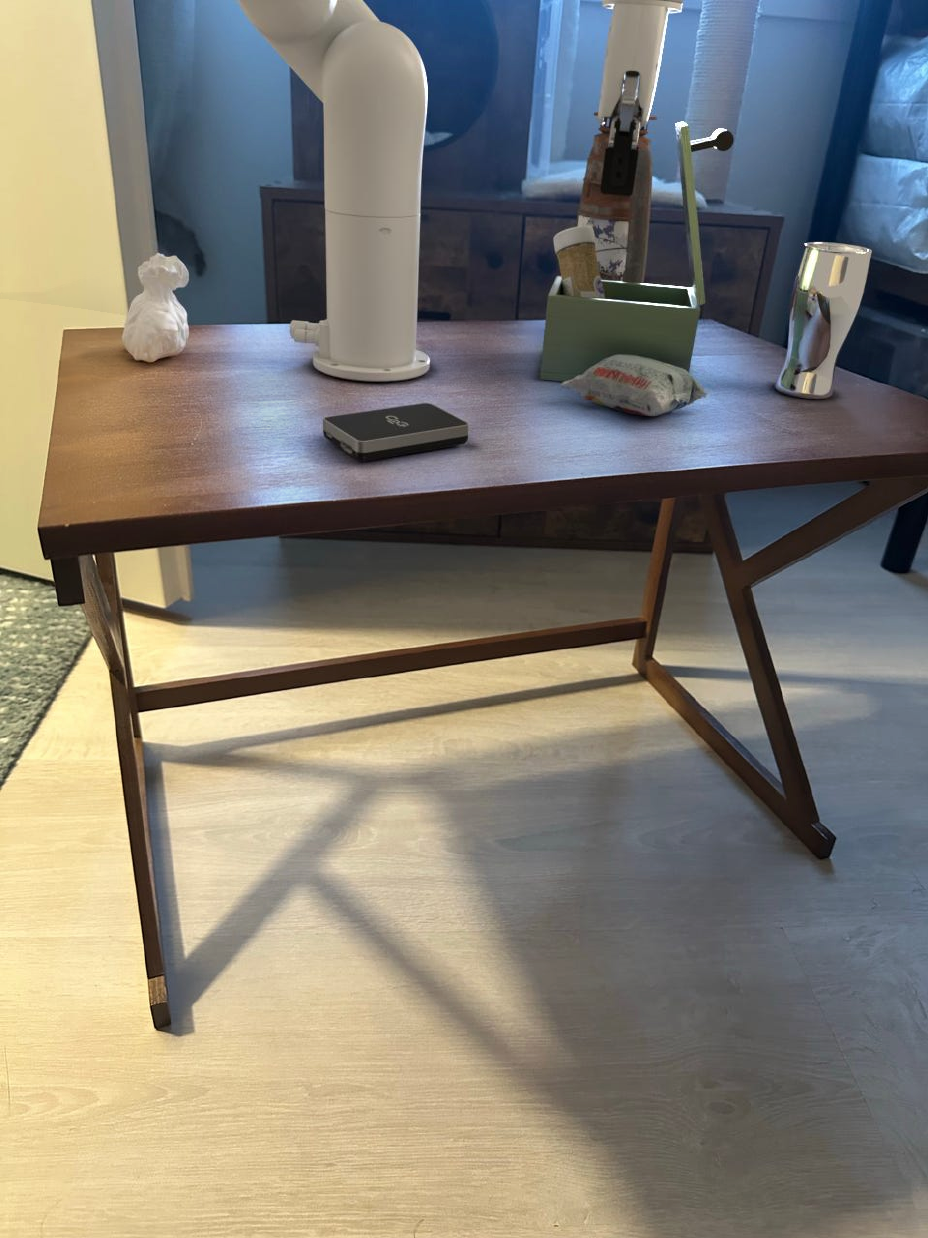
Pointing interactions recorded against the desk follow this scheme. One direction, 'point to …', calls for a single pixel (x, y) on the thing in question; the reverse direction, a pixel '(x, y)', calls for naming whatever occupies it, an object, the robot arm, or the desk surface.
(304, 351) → the desk surface
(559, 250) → the sprinkles bottle
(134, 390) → the desk surface
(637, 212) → the lantern
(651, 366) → the packaged food
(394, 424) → the external hard drive
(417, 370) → the robot arm
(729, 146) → the bin lid
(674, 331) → the waste bin
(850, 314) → the beer glass
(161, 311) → the white tied sack
